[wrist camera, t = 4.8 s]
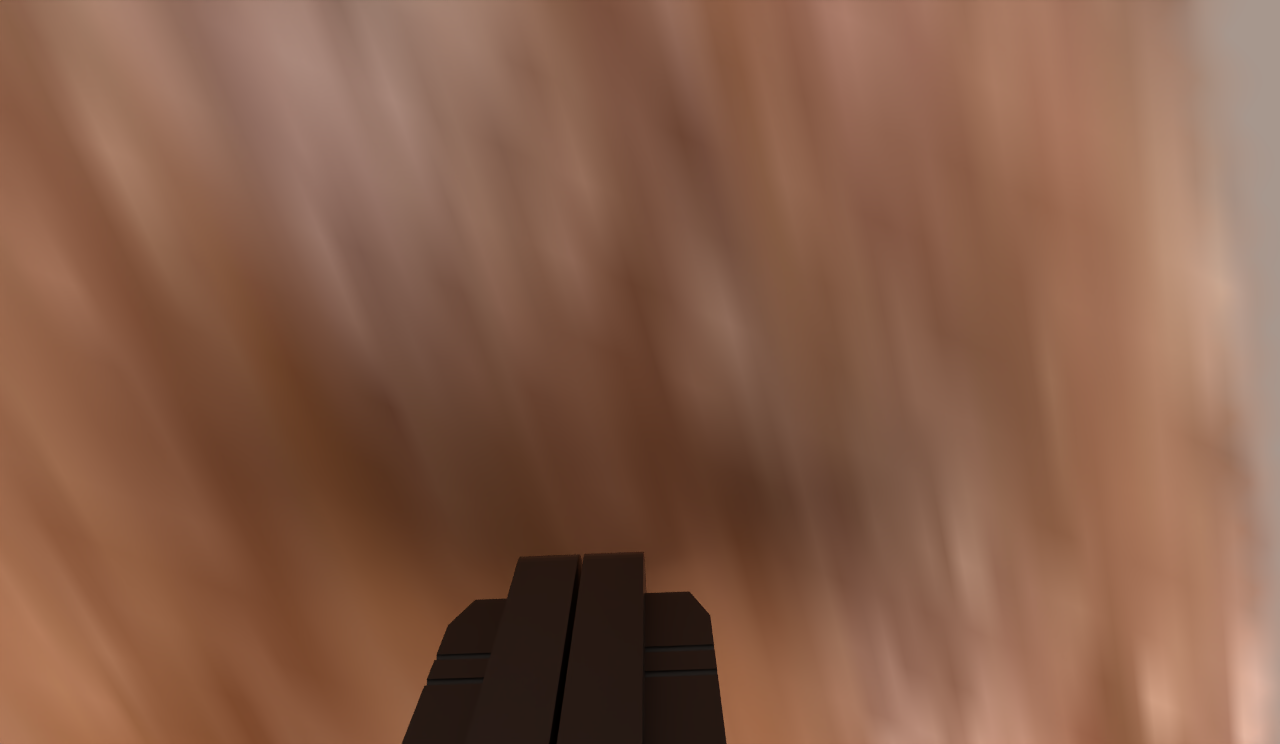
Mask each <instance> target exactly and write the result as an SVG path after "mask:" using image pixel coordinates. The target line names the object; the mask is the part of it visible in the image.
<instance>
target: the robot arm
mask: <svg viewBox="0 0 1280 744" xmlns="http://www.w3.org/2000/svg"><path fill="white" fill-rule="evenodd" d="M402 744H726V736H725V728H724V720H723V713H722V705H721V697H720V689H719V681H718V675H717V665H716V658H715V650H714V642H713V634H712V626H711V618H710V615H709V613H708V612H707V611H706V610H705V609H704V608H703V607H702V606H701V604H700V603H699V602H698V601H697V600H696V599H695V598H694V596H693V595H692V594H691V593H690V592H666V593H646V576H645V559H644V552H626V553H600V554H584V558H583V564H582V560H581V556H580V555H554V556H528V557H520V558H519V559H518V562H517V566H516V569H515V572H514V576H513V579H512V583H511V586H510V590H509V593H508V597H507V599H485V600H475V601H474V602H472V603H471V604H470V605H469V606H468V607H467V608H466V609H465V610H464V611H463V612H462V613H461V614H460V615H459V616H457V617H456V618H455V619H454V620H453V621H452V622H451V623H450V624H449V625H448V627H447V629H446V632H445V634H444V637H443V640H442V642H441V645H440V647H439V650H438V652H437V660H434V663H433V665H432V668H431V670H430V673H429V675H428V678H427V686H424V688H423V691H422V693H421V696H420V698H419V701H418V704H417V706H416V709H415V711H414V714H413V716H412V719H411V722H410V724H409V727H408V729H407V732H406V734H405V737H404V739H403V742H402Z"/></svg>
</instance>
